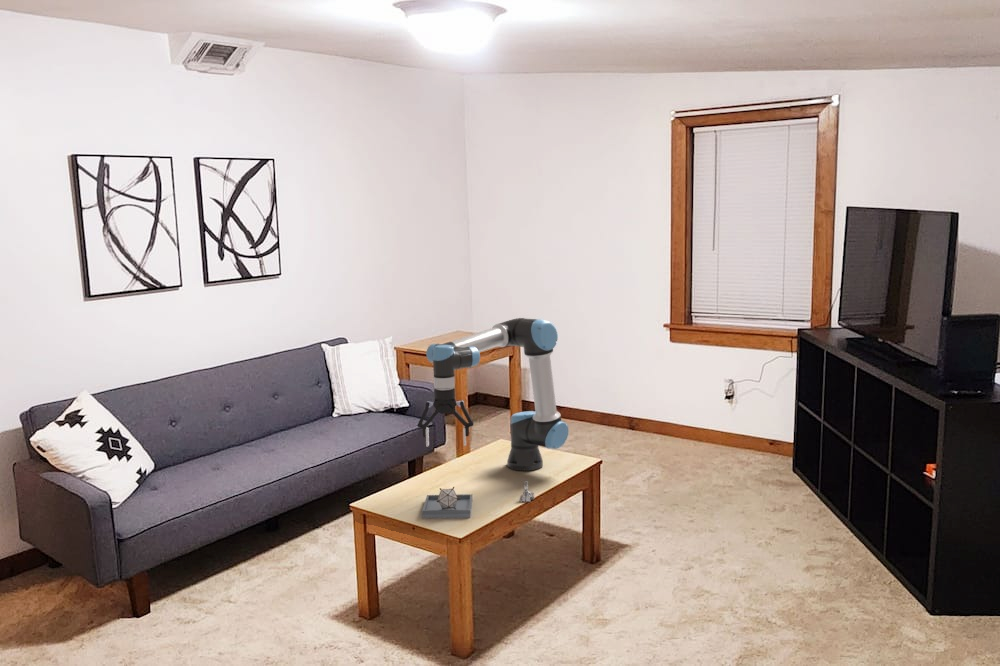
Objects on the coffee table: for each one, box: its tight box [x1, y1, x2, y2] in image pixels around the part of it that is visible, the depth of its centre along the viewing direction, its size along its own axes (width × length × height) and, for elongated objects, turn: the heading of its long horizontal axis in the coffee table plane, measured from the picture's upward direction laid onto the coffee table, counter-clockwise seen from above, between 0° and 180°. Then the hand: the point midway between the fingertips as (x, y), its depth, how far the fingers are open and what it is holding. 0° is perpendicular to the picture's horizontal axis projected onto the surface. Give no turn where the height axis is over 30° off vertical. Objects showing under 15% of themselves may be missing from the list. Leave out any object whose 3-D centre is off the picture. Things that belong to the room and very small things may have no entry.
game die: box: [436, 486, 460, 510], centre depth 300 cm, size 9×8×10 cm
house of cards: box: [520, 480, 535, 503], centre depth 313 cm, size 9×9×8 cm
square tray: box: [421, 493, 474, 519], centre depth 305 cm, size 17×17×3 cm
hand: (446, 445), depth 302 cm, fingers open, 13 cm apart
